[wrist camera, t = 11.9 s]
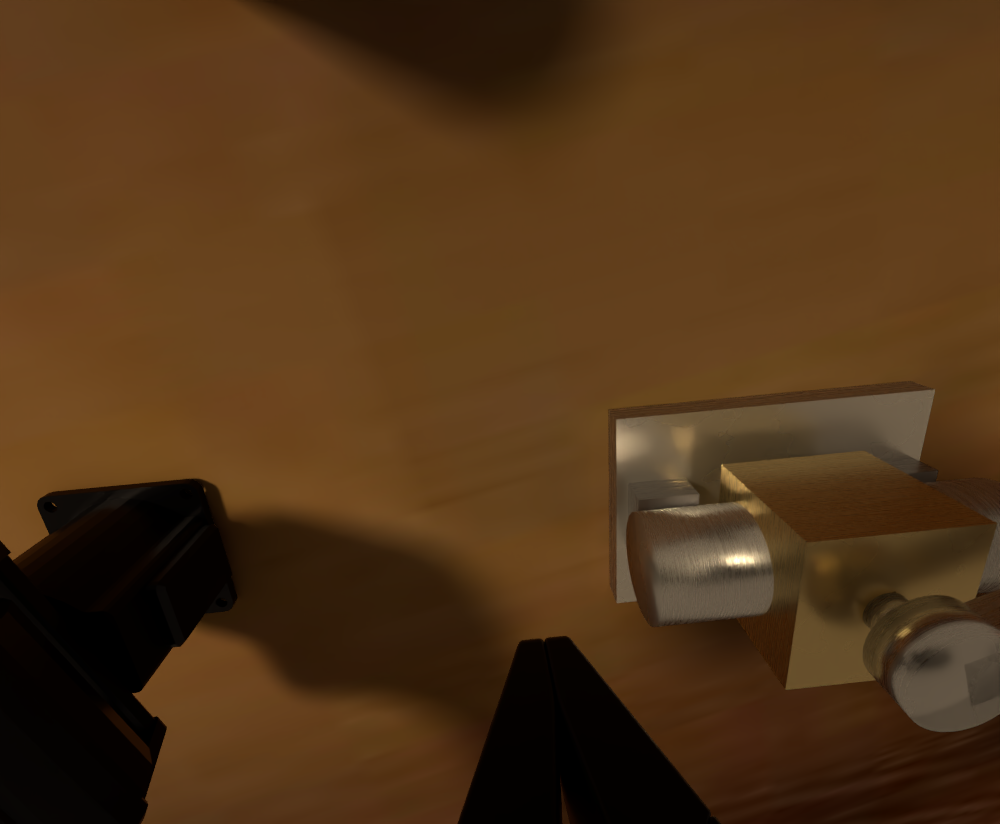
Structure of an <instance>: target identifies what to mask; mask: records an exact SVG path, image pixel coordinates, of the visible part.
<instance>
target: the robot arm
mask: <svg viewBox="0 0 1000 824" xmlns="http://www.w3.org/2000/svg"><path fill="white" fill-rule="evenodd" d="M185 489H188V490H190V491H191V492H192V495H189V494H188V493H186V491H185ZM52 503H54V504H55V505H56V506H57V507H55V506H53V504H52ZM37 507H38V510H39V512H40V514H41V517H42V519H43V521H44V523H45V526H46V528H47V530H48V532H49V535H48V536H47V537H45V538H44V539H42V540H41V541H40V542H38V543H37V544H35V545H34V546H33V547H31V548H30V549H28V550H27V551H26V552H24V553H23V554H21V555H20V556H18V557H17V558H16V559H14V560H13V561H12V559H11V558H10V557H9V556H8V555H9V554H10V553H11V552H10V551H9V550H8V549H7V548H6V546H5V545H4V544H3V543H2V542H1V541H0V824H141V823H142V821H143V819H144V816H145V813H146V810H147V807H148V803H147V801H146V800H145V797H146V794H147V791H148V788H149V784H150V781H151V778H152V775H153V771H154V768H155V765H156V762H157V759H158V755H159V752H160V749H161V746H162V742H163V739H164V736H165V733H166V730H167V727H166V726H165V724H164V723H163V722H162V721H161V720H160V719H159V718H158V717H153V716H152V715H151V714H150V713H149V712H148V711H147V710H146V709H145V708H144V706H143V705H142V704H141V703H140V702H139V701H138V700H137V699H136V698H135V696H134V695H133V694H132V693H137V692H140V691H141V690H142V689H143V688H144V686H145V685H146V684H147V682H148V681H149V679H150V678H151V677H152V675H153V674H154V673H155V671H156V670H157V668H158V667H159V666H160V664H161V663H162V662H163V660H164V659H165V657H166V656H167V655H168V653H169V652H170V651H171V649H172V648H173V647H180V646H181V645H182V644H183V643H184V642H185V641H186V640H187V638H188V637H189V635H190V634H191V633H192V631H193V630H194V628H195V627H196V625H197V624H198V623H199V621H200V620H201V618H202V617H203V616H204V614H205V613H215V612H225V611H228V610H230V609H231V608H232V607H233V605H234V604H235V602H236V600H237V595H236V591H235V588H234V585H233V582H232V579H231V576H232V572H231V568H230V565H229V562H228V559H227V556H226V552H225V549H224V546H223V543H222V540H221V536H220V533H219V530H218V528H217V527H216V526H215V525H214V521H213V518H212V515H211V512H210V509H209V505H208V502H207V499H206V496H205V493H204V490H203V487H202V485H201V484H200V483H199V482H197V481H195V480H193V479H182V480H172V481H161V482H151V483H140V484H130V485H119V486H109V487H98V488H88V489H77V490H67V491H56V492H51V493H48V494H47V495H45V496H43V497H42V498H40V499H39V500H38V503H37ZM221 598H224V599H226V601H224V600H222V599H221ZM560 780H561V784H560ZM561 786H562V791H563V795H564V800H565V804H566V809H567V813H568V817H569V821H570V824H721V823H720V822H719V821H718V819H717V818H716V817H714V816H712V817H711V812H710V810H709V809H708V808H707V806H706V805H705V804H704V803H703V801H702V800H701V799H700V798H699V796H698V795H697V794H696V793H695V792H694V790H693V789H692V788H691V787H690V785H689V784H688V783H687V782H686V780H685V779H684V778H683V777H682V776H681V774H680V773H679V772H678V771H677V769H676V768H675V767H674V766H673V764H672V763H671V762H670V761H669V760H668V758H667V757H666V756H665V755H664V753H663V752H662V751H661V750H660V748H659V747H658V746H657V745H656V744H655V742H654V741H653V740H652V739H651V737H650V736H649V735H648V734H647V732H646V731H645V730H644V729H643V728H642V726H641V725H640V724H639V723H638V721H637V720H636V719H635V718H634V716H633V715H632V714H631V713H630V711H629V710H628V709H627V708H626V707H625V705H624V704H623V703H622V702H621V700H620V699H619V698H618V697H617V695H616V694H615V693H614V692H613V691H612V689H611V688H610V687H609V686H608V684H607V683H606V682H605V681H604V679H603V678H602V677H601V676H600V675H599V673H598V672H597V671H596V670H595V668H594V667H593V666H592V665H591V663H590V662H589V661H588V660H587V659H586V657H585V656H584V655H583V654H582V652H581V651H580V650H579V649H578V647H577V646H576V645H575V644H574V643H573V641H572V640H571V639H570V638H569V637H567V636H559V637H549V638H546V639H545V641H543V640H542V639H530V640H522V641H520V642H519V644H518V646H517V649H516V652H515V655H514V658H513V661H512V664H511V667H510V670H509V673H508V676H507V679H506V682H505V685H504V688H503V691H502V694H501V696H500V699H499V702H498V705H497V708H496V711H495V714H494V717H493V720H492V723H491V726H490V729H489V732H488V735H487V738H486V741H485V744H484V747H483V750H482V753H481V756H480V759H479V762H478V765H477V768H476V771H475V774H474V776H473V779H472V782H471V785H470V788H469V791H468V794H467V797H466V800H465V803H464V806H463V809H462V812H461V815H460V818H459V821H458V824H562V802H561Z"/></svg>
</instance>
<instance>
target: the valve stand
mask: <svg viewBox="0 0 1000 824" xmlns="http://www.w3.org/2000/svg"><path fill="white" fill-rule="evenodd" d="M934 393H935V389H933V388H930V387H927V386H923V385H920V384H917V383H914V382H911V381H908V382H898V383H887V384H876V385H866V386H855V387H844V388H834V389H823V390H812V391H802V392H791V393H780V394H770V395H759V396H748V397H738V398H727V399H716V400H706V401H695V402H684V403H674V404H663V405H652V406H642V407H631V408H620V409H610V410H609V535H610V587H611V590H612V592H613V595H614V598H615V600H616V603H622V602H632V601H637V602H638V605H639V608H640V610H641V612H642V614H643V616H644V618H645V620H646V621H647V623H648V624H649V625H650V626H652V627H659V626H669V625H679V624H688V623H698V622H707V621H717V620H726V619H737V621H738V622H739V623H740V625H741V626H742V628H743V629H744V631H745V632H746V634H747V635H748V636H749V638H750V639H751V641H752V642H753V644H754V645H755V647H756V648H757V649H758V651H759V652H760V654H761V655H762V657H763V658H764V660H765V661H766V662H767V664H768V665H769V667H770V668H771V670H772V671H773V673H774V674H775V676H776V677H777V678H778V680H779V681H780V683H781V684H782V686H783V687H784V689H785V690H789V689H798V688H807V687H817V686H826V685H835V684H844V683H854V682H863V681H872V680H876V679H875V678H874V677H873V676H872V675H871V674H870V673H869V672H868V671H867V669H866V667H865V665H864V662H863V657H862V655H863V646H864V643H865V640H866V638H867V636H868V634H869V632H870V631H871V629H872V628H873V626H874V625H875V624H876V623H877V622H878V621H879V620H880V619H881V618H882V617H883V616H884V615H885V614H886V613H888V612H889V611H891V610H892V609H894V608H895V607H897V606H899V605H900V604H902V603H905V602H907V601H909V600H912V599H915V598H918V597H923V596H929V595H945V596H950V597H954V598H956V599H959V600H960V601H962V602H963V603H964V602H967V601H969V600H972V599H975V598H976V595H977V593H985V592H993V591H996V590H999V589H1000V482H998V481H994V480H991V479H986V478H969V479H959V480H949V481H939V482H936V478H937V474H938V470H936V469H934V468H932V467H930V466H928V465H926V464H924V463H922V462H920V461H919V460H920V456H921V451H922V447H923V442H924V438H925V433H926V429H927V424H928V420H929V415H930V411H931V406H932V402H933V397H934Z"/></svg>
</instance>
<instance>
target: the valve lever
mask: <svg viewBox="0 0 1000 824" xmlns="http://www.w3.org/2000/svg"><path fill="white" fill-rule="evenodd" d="M862 657H863V662H864V665H865V667H866V669H867V671H868V672H869V673H870V674H871V675H872V676H873V677H874V678H875V679H876V681H877V682H878V683H879V684H880V685H881V686H882V687H883V688H884V689H885V690H886V692H887V693H888V694H889V695H890V696H891V697H892V698H893V699H894V700H895V701H896V703H897V704H898V705H899V706H900V707H901V708H902V709H903V710H904V711H905V712H906V714H907V715H908V716H909V717H910V718H911V719H912V720H913V721H914V722H915V723H916V724H918V725H919V726H921V727H923V728H925V729H928V730H932V731H937V732H953V731H960V730H965V729H969V728H972V727H975V726H978V725H980V724H983V723H985V722H987V721H989V720H991V719H992V718H994V717H996V716H997V715H999V714H1000V589H999V590H996V591H993V592H991V593H988V594H985V595H983V596H980V597H977V598H975V599H972V600H969V601H967V602H964V603H963V602H962V601H960V600H959V599H956V598H954V597H950V596H945V595H929V596H923V597H918V598H915V599H912V600H909V601H907V602H905V603H902V604H900V605H899V606H897V607H895V608H894V609H892V610H891V611H889V612H888V613H886V614H885V615H884V616H883V617H882V618H881V619H880V620H879V621H878V622H877V623H876V624H875V625H874V626H873V628H872V629H871V631H870V632H869V634H868V636H867V638H866V640H865V643H864V646H863V655H862Z"/></svg>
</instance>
